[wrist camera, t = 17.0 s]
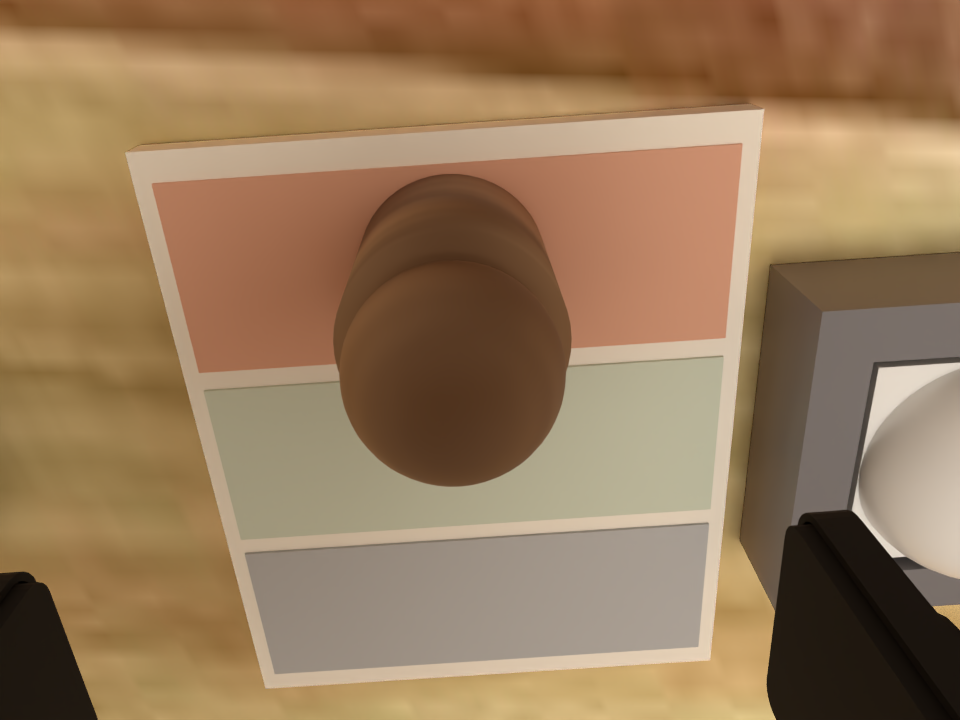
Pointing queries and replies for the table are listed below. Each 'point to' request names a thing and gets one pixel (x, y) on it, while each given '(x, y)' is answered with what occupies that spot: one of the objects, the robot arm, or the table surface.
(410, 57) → the table surface
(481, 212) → the walnut pawn
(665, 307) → the game board
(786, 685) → the robot arm
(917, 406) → the pop dome
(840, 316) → the dome base
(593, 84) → the table surface
